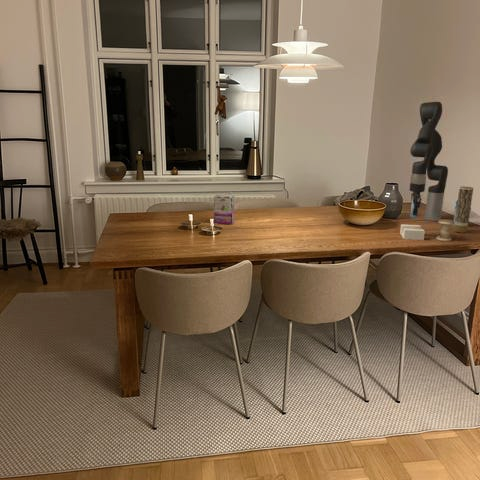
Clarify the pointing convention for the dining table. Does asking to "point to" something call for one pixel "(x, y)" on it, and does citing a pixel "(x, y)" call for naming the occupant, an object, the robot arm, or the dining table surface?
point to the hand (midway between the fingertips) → (414, 214)
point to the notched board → (412, 232)
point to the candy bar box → (224, 209)
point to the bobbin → (445, 230)
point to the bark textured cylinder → (456, 209)
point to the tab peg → (412, 211)
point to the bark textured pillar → (463, 209)
